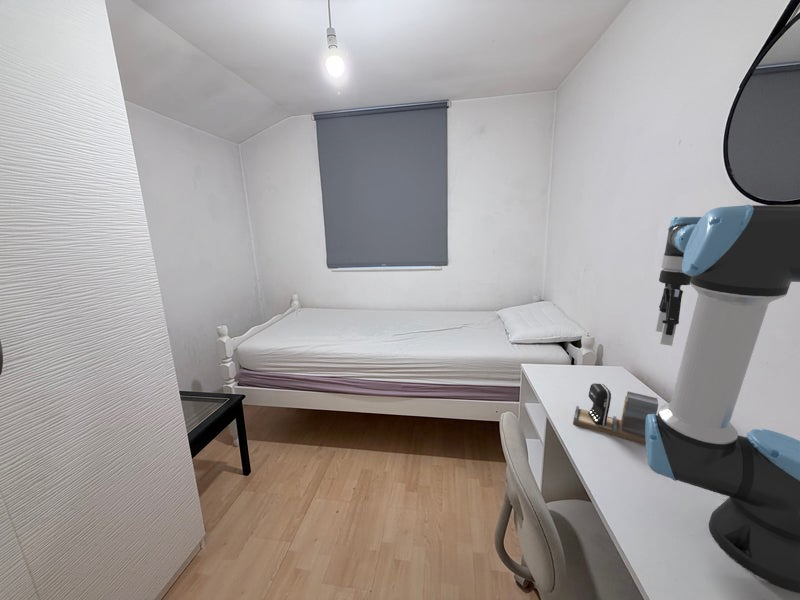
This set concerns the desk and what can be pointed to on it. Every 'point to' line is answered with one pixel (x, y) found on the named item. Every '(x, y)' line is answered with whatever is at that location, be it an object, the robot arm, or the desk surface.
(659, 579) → the desk surface
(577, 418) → the organizer
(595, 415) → the battery charger
